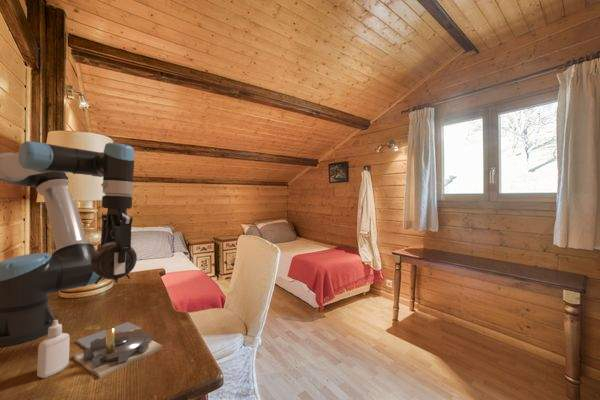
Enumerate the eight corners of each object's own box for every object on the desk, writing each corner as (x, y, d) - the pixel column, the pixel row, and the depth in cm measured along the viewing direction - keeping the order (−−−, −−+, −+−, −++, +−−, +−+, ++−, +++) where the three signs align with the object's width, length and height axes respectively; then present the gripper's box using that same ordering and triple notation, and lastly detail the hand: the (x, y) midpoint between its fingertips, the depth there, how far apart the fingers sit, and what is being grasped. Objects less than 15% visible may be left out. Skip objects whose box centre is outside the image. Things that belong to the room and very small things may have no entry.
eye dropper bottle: (70, 369, 63) (72, 319, 63) (37, 381, 59) (39, 327, 59) (67, 362, 66) (69, 314, 66) (35, 372, 62) (38, 321, 62)
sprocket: (83, 374, 60) (85, 339, 60) (82, 346, 71) (84, 317, 71) (157, 351, 69) (158, 321, 70) (145, 330, 81) (146, 304, 81)
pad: (75, 342, 75) (75, 339, 75) (128, 323, 87) (128, 321, 87) (88, 350, 71) (88, 348, 71) (141, 330, 83) (141, 327, 83)
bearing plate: (72, 357, 68) (72, 354, 68) (133, 333, 81) (134, 330, 81) (99, 378, 60) (99, 374, 60) (162, 348, 73) (162, 345, 73)
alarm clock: (131, 277, 85) (133, 227, 86) (138, 279, 82) (139, 227, 82) (89, 284, 76) (91, 228, 77) (94, 287, 73) (96, 229, 74)
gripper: (89, 194, 81) (85, 269, 81) (119, 195, 71) (115, 280, 71) (116, 195, 87) (112, 264, 87) (147, 196, 78) (143, 274, 78)
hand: (114, 271), depth 79 cm, fingers closed on alarm clock, 5 cm apart
